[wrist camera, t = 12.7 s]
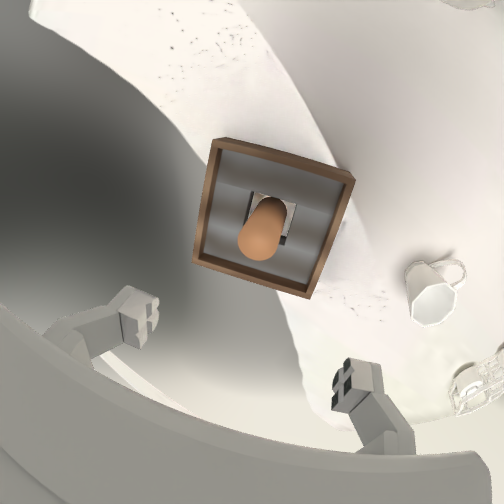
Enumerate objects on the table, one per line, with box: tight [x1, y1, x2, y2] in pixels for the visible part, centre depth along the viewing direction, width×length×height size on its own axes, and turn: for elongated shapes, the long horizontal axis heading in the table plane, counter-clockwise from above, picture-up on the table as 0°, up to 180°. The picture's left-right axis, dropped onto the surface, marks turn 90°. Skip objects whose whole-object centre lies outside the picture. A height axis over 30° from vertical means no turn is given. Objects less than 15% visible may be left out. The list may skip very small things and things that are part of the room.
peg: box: [238, 197, 287, 261], centre depth 32 cm, size 4×4×10 cm
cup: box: [405, 259, 467, 328], centre depth 31 cm, size 7×10×8 cm
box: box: [192, 137, 356, 300], centre depth 34 cm, size 16×16×5 cm
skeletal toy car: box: [448, 348, 504, 417], centre depth 37 cm, size 20×11×7 cm, turn 124°
